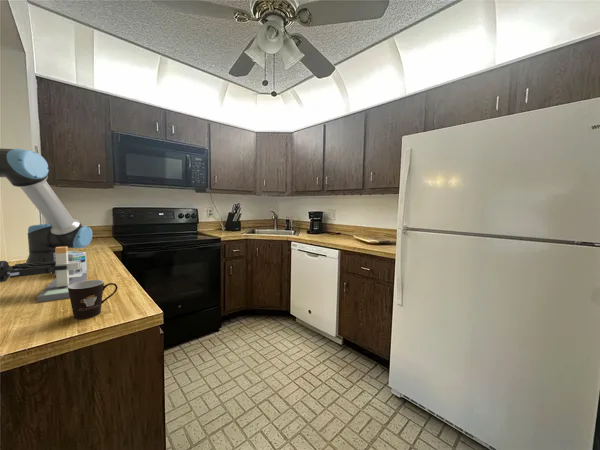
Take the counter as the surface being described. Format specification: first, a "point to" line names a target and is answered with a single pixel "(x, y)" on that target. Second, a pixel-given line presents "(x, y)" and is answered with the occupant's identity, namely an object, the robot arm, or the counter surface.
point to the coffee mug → (87, 298)
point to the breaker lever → (62, 258)
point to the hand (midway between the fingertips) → (79, 264)
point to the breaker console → (59, 289)
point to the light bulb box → (77, 257)
